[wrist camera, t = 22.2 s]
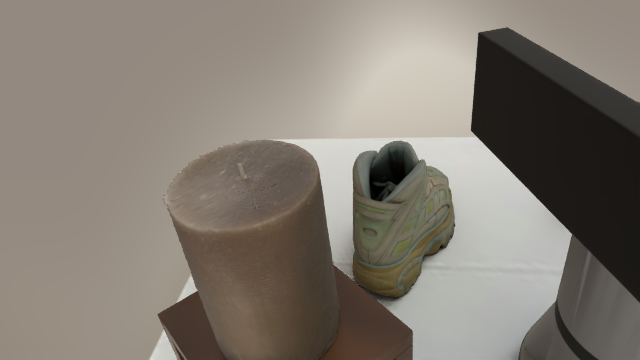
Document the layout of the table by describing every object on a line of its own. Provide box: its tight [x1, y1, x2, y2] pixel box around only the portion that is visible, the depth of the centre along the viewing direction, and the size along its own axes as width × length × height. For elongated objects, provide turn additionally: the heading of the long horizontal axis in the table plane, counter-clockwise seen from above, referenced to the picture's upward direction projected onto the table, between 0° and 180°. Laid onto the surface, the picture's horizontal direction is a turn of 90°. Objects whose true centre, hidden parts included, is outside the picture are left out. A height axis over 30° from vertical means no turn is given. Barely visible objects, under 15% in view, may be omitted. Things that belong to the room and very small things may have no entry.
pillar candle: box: [163, 140, 340, 360], centre depth 34 cm, size 10×10×15 cm
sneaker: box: [353, 141, 455, 297], centre depth 56 cm, size 11×19×15 cm, turn 136°
